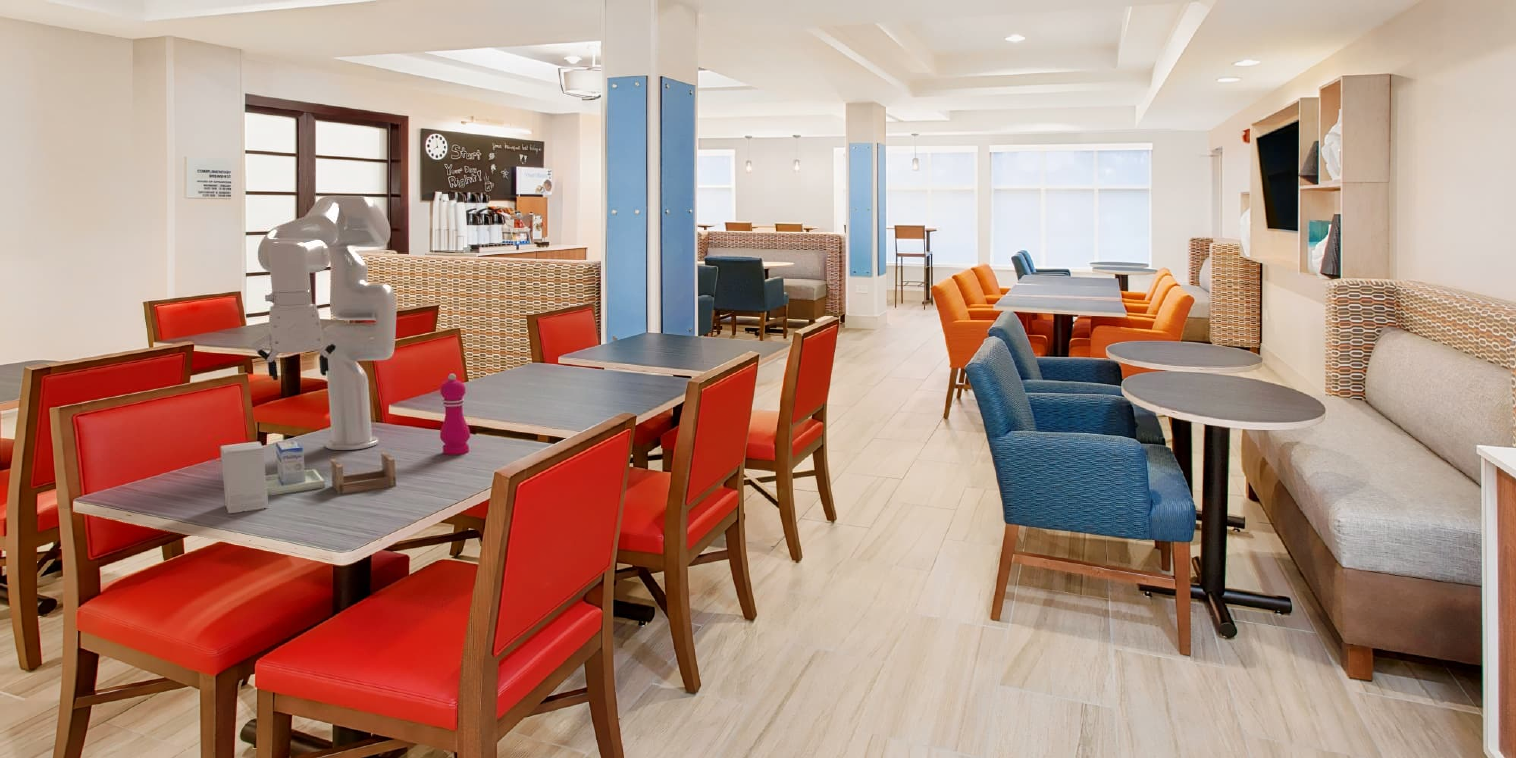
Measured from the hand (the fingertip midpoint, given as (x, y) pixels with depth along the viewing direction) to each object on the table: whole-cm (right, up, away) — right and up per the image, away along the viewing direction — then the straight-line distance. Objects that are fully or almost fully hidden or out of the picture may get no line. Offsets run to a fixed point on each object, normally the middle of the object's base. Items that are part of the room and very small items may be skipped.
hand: (299, 376), depth 205 cm
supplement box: (-4, -27, -14) cm, 30 cm away
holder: (+14, -24, +1) cm, 28 cm away
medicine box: (-2, -24, +1) cm, 24 cm away
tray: (-2, -24, +1) cm, 24 cm away
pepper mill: (+24, -19, +31) cm, 44 cm away
